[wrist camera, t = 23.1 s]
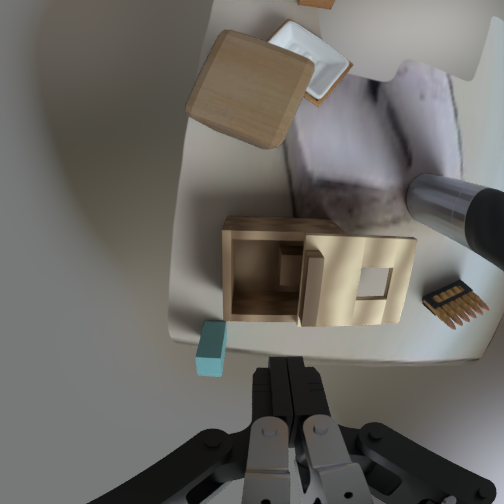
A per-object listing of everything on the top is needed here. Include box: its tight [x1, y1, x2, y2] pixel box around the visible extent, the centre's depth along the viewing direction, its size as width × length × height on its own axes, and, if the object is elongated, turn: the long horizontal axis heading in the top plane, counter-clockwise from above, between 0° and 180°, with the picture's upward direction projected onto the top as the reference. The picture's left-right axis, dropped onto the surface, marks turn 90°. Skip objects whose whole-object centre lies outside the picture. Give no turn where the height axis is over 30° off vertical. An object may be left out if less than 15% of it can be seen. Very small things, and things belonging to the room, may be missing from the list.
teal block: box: [195, 321, 227, 377], centre depth 50 cm, size 4×4×11 cm
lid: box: [296, 233, 417, 327], centre depth 40 cm, size 17×14×4 cm
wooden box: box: [222, 216, 346, 322], centre depth 46 cm, size 17×14×9 cm
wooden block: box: [185, 30, 315, 149], centre depth 33 cm, size 10×10×20 cm
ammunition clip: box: [423, 280, 489, 330], centre depth 47 cm, size 11×2×12 cm, turn 109°
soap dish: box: [266, 19, 353, 107], centre depth 38 cm, size 12×10×5 cm
